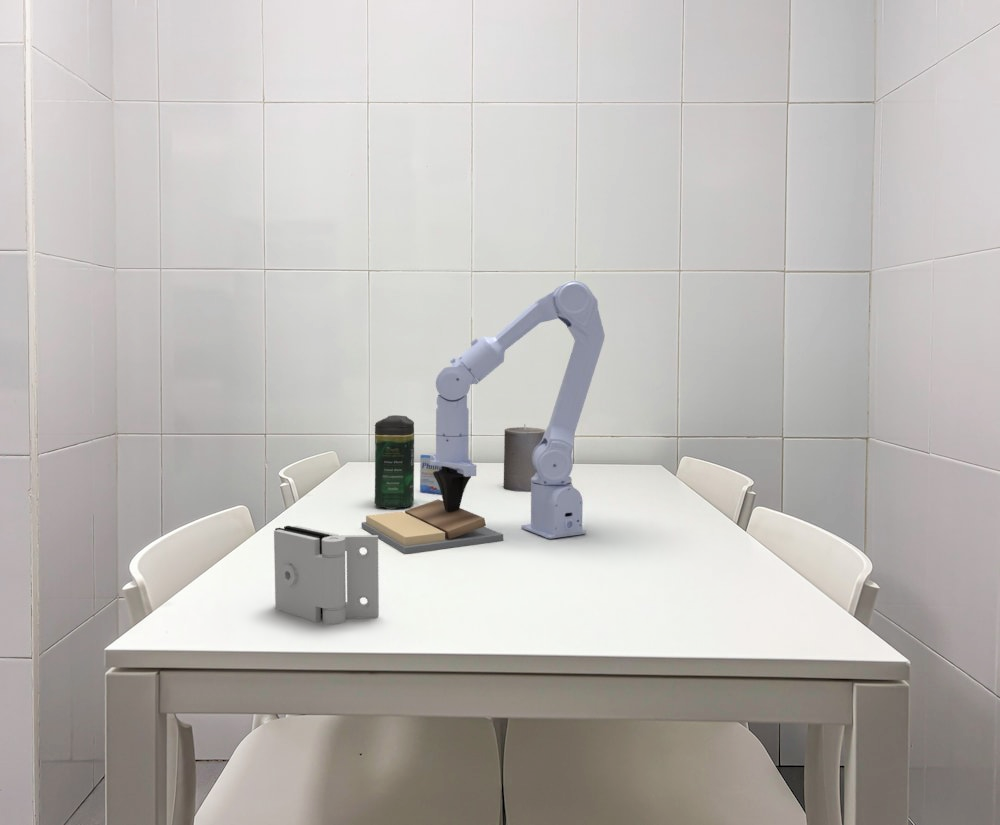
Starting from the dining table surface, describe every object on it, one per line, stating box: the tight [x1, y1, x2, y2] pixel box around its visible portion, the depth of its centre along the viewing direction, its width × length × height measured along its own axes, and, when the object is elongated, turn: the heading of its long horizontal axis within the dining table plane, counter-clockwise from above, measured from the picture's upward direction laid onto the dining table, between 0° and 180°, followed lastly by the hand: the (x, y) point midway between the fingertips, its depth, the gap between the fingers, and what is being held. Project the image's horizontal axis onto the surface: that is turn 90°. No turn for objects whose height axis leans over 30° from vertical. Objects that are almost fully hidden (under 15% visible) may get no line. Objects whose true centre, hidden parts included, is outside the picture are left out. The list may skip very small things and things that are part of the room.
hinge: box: [273, 525, 380, 625], centre depth 94 cm, size 14×5×10 cm, turn 67°
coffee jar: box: [374, 414, 415, 510], centre depth 158 cm, size 10×8×19 cm
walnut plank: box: [404, 498, 487, 539], centre depth 136 cm, size 18×7×1 cm, turn 30°
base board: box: [361, 511, 504, 555], centre depth 135 cm, size 20×18×2 cm
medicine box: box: [419, 452, 442, 496], centre depth 173 cm, size 8×4×9 cm, turn 62°
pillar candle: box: [503, 423, 546, 492], centre depth 179 cm, size 10×10×15 cm
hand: (452, 510), depth 137 cm, fingers closed, pressing on walnut plank
